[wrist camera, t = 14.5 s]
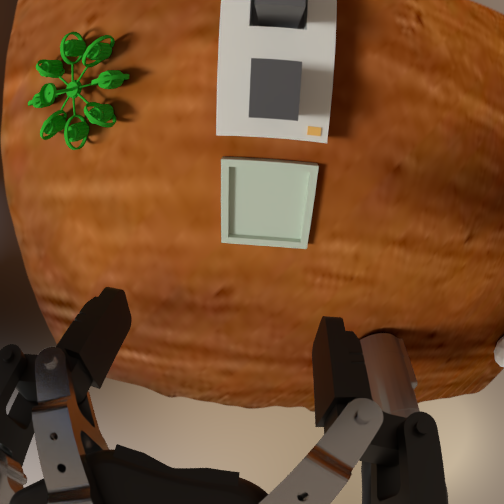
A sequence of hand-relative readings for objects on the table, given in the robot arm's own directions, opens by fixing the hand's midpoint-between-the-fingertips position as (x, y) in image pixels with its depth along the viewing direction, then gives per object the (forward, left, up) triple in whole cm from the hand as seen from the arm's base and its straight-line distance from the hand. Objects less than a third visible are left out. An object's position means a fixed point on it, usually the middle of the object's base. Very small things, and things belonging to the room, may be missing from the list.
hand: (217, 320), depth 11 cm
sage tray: (-2, +4, -22) cm, 22 cm away
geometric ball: (-59, +30, -22) cm, 70 cm away
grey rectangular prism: (-2, -17, -21) cm, 27 cm away
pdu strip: (-2, -13, -22) cm, 26 cm away
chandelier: (+21, -10, -23) cm, 32 cm away
